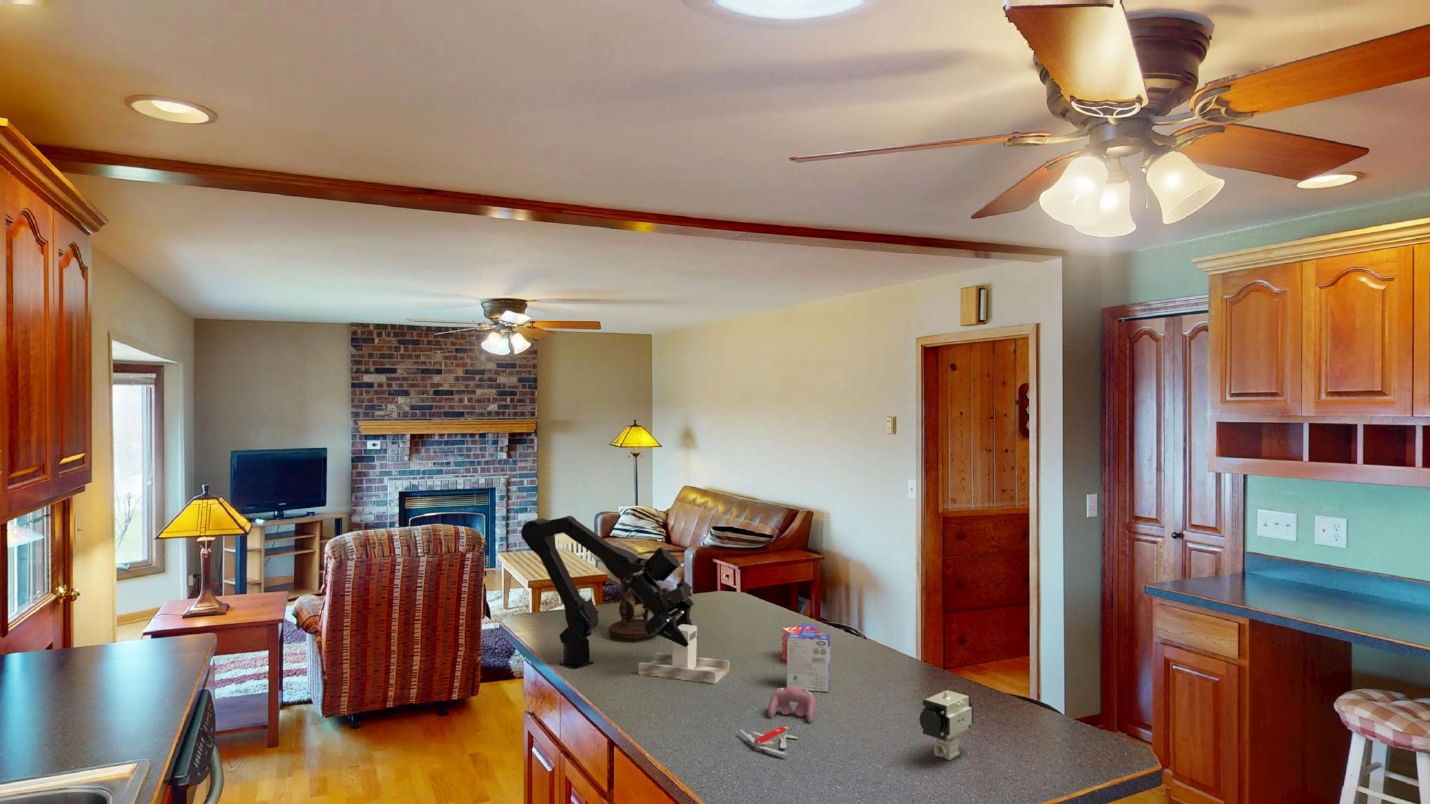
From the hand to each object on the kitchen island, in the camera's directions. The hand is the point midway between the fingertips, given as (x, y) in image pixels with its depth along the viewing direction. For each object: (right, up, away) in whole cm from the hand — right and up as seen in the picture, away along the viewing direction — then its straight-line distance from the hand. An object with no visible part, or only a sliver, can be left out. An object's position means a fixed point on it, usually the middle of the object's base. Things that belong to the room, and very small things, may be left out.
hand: (691, 642), depth 205 cm
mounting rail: (-2, -8, +1) cm, 8 cm away
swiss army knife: (+17, -8, -42) cm, 46 cm away
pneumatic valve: (+49, -8, -49) cm, 70 cm away
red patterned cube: (+28, -8, +11) cm, 31 cm away
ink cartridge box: (+28, -8, -10) cm, 30 cm away
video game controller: (+22, -8, -28) cm, 37 cm away
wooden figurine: (-17, -8, +35) cm, 40 cm away
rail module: (-2, -6, +1) cm, 7 cm away
